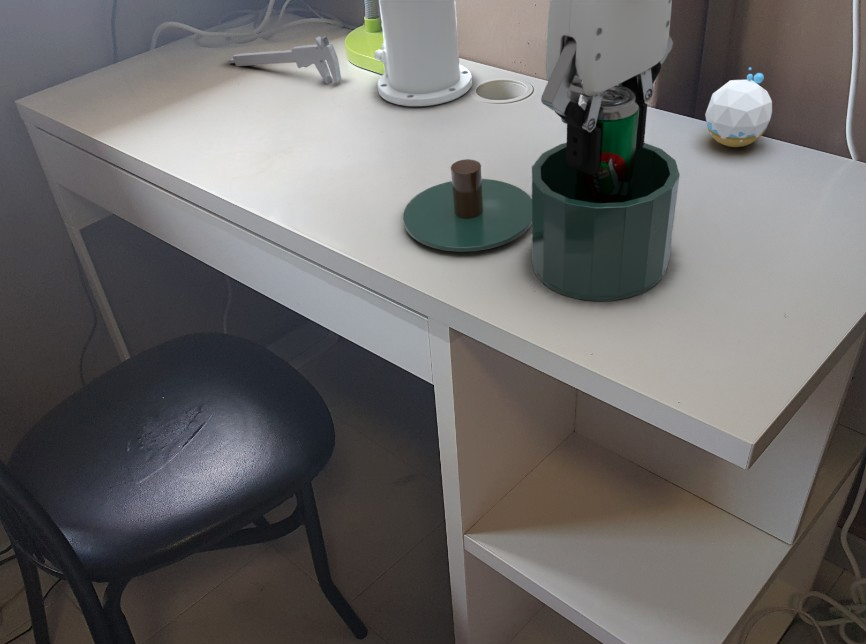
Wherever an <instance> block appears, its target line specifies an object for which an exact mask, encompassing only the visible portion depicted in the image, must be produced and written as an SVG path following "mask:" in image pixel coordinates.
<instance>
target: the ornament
mask: <svg viewBox="0 0 866 644" xmlns="http://www.w3.org/2000/svg"><path fill="white" fill-rule="evenodd" d="M747 69H748V70H747V71H752V69H753V68H752V67H751V66H749V67H748V68H747ZM764 80H765V76H764V74H763V73H762V72H757V73H755V74H754V75H753V73H748V74H747V75H746V79H732V80H731V79H730V80H729V81H728V82H726V83H725V84H724V85H722V86H721V87H719V88H718V89H717V90H716V91H714V92H713V93H712V94H711V97H710V100H709V103H708V105H707V109H706V111H705V113H704V116H705V121H706V128H707V130H708V133H709V134H710V136H711V137H712V138H713V140H715V141H716V142H717V143H718V144H721V145H723V146H725V147H728V148H741V147H745V146H748V145H751V144H753V143H754V142H755V141H757V140H758V139H760V138H761V137H762V136H763V135H764V134H765V132H766V131H767V128H768V126H769V123H770V121H771V118H772V114H773V100H772V99H771V96H770V94H769V91H768V90H766V89H765V88H763V87H762V86H760V84H762V82H763V81H764Z"/></svg>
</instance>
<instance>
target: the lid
mask: <svg viewBox="0 0 866 644" xmlns="http://www.w3.org/2000/svg"><path fill="white" fill-rule="evenodd" d="M450 175H451V176H450V177H451V180H449V181H446V182H442V183H439V184H436V185H433V186H431V187H428V188H426V189H424V190H423V191H421V192H419V193H418V194H416V195H415V196H414V197H413V198H411V200H410V201H409V202H408V203H407V204H406V206H405V208H404V211H403V214H402V221H403V226H404V228H405V231H406V232H407V233H408V235H409V236H410V237H412V239H414V240H415V241H416V242H418V243H421V244H422V245H424V246H426V247H429V248H432V249H437V250H439V251H440V250H441V251H447V252H456V253H457V252H459V253H462V252H463V253H464V252H466V253H467V252H478V251H484V250H485V251H486V250H490V249H495V248H497V247H500V246H504V245H506V244H509V243H511V242H513V241H515V240H516V239H518V238H520V237H521V236H522V235H524V233H526V232H527V231H528V230H529V229H530V228H531V227H532V196H531V195H529V194H528V193H527V192H526V191H525V190H523V189H522V188H520V187H518V186H516V185H513V184H511V183H509V182H505V181H503V180H496V179H490V178H483V175H482V164H481V163H480V162H479V160H475V159H472V158H471V159H469V158H464V159H460V160H457V161H455V162H453V163H452V164H451V166H450Z"/></svg>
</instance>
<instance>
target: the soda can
mask: <svg viewBox="0 0 866 644" xmlns="http://www.w3.org/2000/svg"><path fill="white" fill-rule="evenodd" d="M581 98H582V99H581V101H580V102H579V103H578V104H579V105H580V106H581V107H582V108H583V109H584V110H585V108H586V103H587V99H588V97H586V96H583V95H581ZM635 99H636V95H635V93H634V91H633V90H631V89H629V88H627V87H623V86H618V85H616V86H614V87H612V88H610V89H608V90H606V91H604V93H603V97H602V101H601V106H600V110H599V114H598V118H597V123H596V126H595V127H598V128H601V145H600V163H599V171H598V172H597V173H595V174H594V175H590V174H588V173H586V172H583V171H581V170H578V169H576V168H575V197H574V200H580V201H586V202H592V203H619V202H626V201H630V200H632V190H633V178H634V166H635V155H636V143H637V131H638V119H639V105H638V103H637V102H636V100H635Z"/></svg>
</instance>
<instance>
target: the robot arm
mask: <svg viewBox="0 0 866 644" xmlns="http://www.w3.org/2000/svg"><path fill="white" fill-rule="evenodd" d="M672 2H673V0H549V5H548V6H549V7H548V8H549V9H548V18H547V30H546V46H545V47H546V49H545V75H546V76H545V77H546V80H547V83H546V86H545V88H544V90H543V92H542V94H541V98H540V101H541V104H543V105H544V106H546V107H547V108H549V109H550V110H551V111H553V112H554V113H555V114H556V115H557V116H558V117H560V120H561V122H562V123H563V124H566V143H567V145H566V162H567V164H568V165H569V166H571V167H573V168H576V169H578V170H581V171H583V172H586V173H588V174H590V175H594V174H595V173H597V172H598V171H599V163H600V145H601V128H598V127H595V126H596V123H597V118H598V114H599V110H600V106H601V101H602V97H603V93H604V91H606V90H608V89H610V88H612V87H614V86H616V85H618V86H623V87H627V88H629V89H631V90H633V91H634V93H635V95H636V99H635V100H636V102H637V103H638V105H639V119H638V131H637V143H636V149H640V148H642V147H643V146H644V143H645V135H646V125H647V115H648V114H647V113H648V102H650V101H651V100H652V98H653V95H654V84H655V81H656V79H657V78H658V76H659V75H660V72H661V69H662V65H663V63H664V62H665V60H666V59H667V58H668V55H669V54H670V53H671V51H672V49H673V48H674V47H673V46H674V41H673V39H672V37H671V35H670V30H671V29H670V28H671V19H672V18H671V17H672V4H673V3H672ZM378 4H379V12H380V20H381V28H382V36H383V42H382V44H381V49H376V50H375V52H374V54H373V55H374V56H373V57H374V60H376V61H379V62H381V63H383V69H384V73H383V74H382V75H381V76H380V77H379V79H378V81H377V90H378V94H379V96H380V97H381V98H382V99H383V100H385V101H386V102H389V103H391V104H395V105H398V106H405V107H428V106H435V105H440V104H445V103H448V102H451V101H454V100H457V99H458V98H460V97H461V96H464V95H465V94H467V92H468V91H469V90H470V89H471V88H472V86H473V75H472V73H471V71H470V69H468V68H467V67H466V66H463V65H462V64H460V53H459V37H458V21H457V20H458V19H457V6H456V0H378ZM581 96H586V97H588V99H587V103H586V108H585V110H584V109H583V108H582V107H581V106H580V105H579V104H580V99H581Z"/></svg>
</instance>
